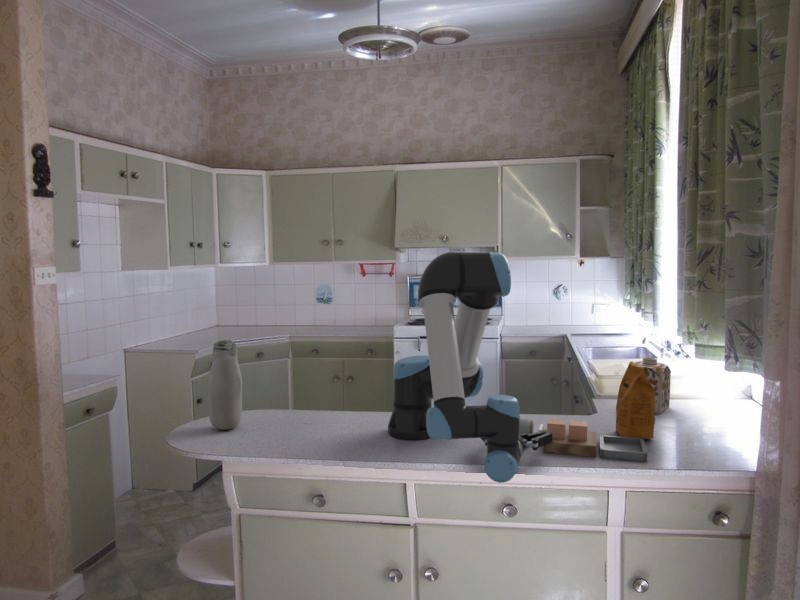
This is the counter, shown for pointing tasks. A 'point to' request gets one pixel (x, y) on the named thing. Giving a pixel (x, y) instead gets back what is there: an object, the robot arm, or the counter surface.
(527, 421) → the ceramic mug
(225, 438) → the counter surface
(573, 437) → the salmon orange block
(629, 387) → the coffee package
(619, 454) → the tray
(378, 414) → the counter surface
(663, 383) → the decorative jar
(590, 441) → the board
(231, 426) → the glass bottle
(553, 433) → the salmon pink block
